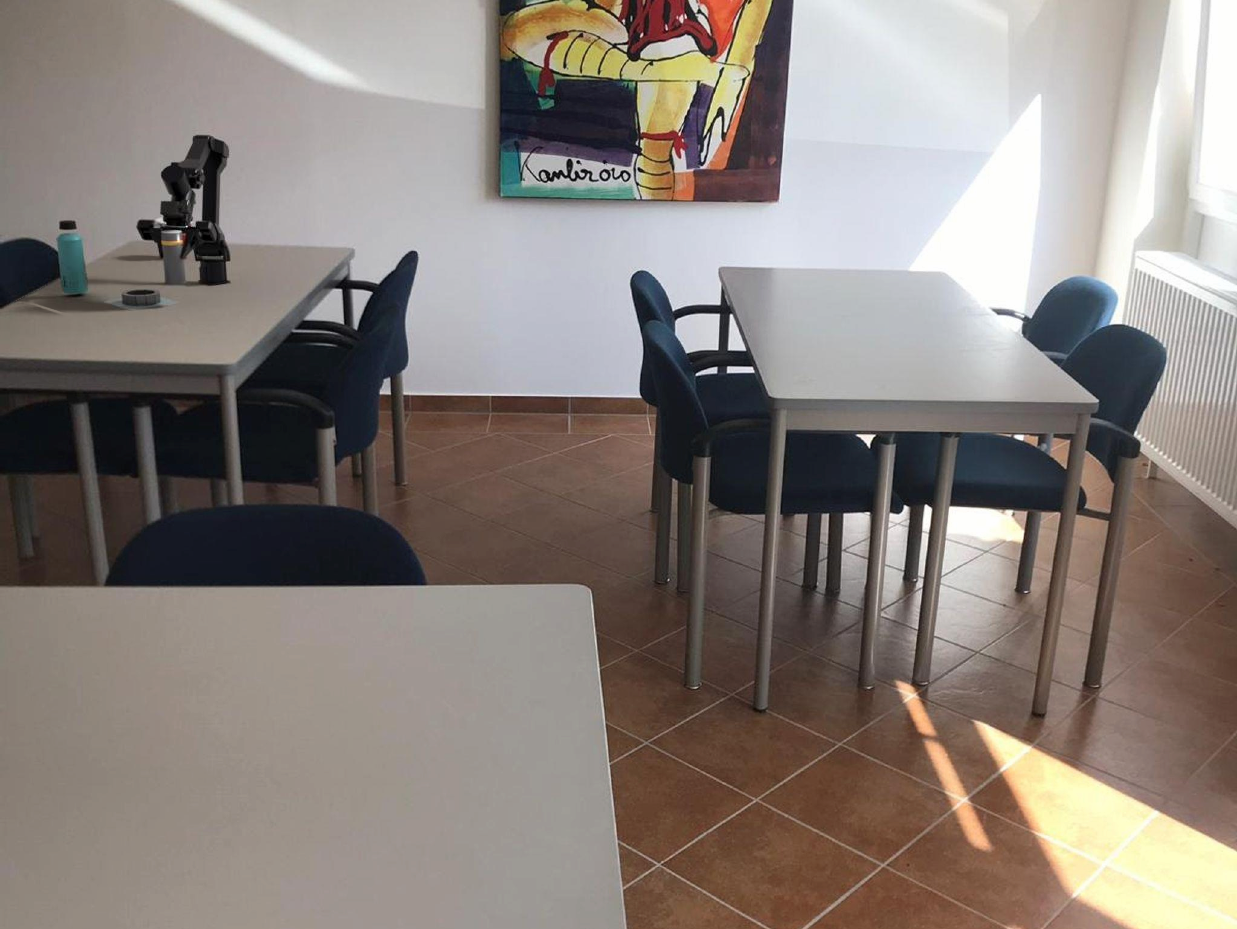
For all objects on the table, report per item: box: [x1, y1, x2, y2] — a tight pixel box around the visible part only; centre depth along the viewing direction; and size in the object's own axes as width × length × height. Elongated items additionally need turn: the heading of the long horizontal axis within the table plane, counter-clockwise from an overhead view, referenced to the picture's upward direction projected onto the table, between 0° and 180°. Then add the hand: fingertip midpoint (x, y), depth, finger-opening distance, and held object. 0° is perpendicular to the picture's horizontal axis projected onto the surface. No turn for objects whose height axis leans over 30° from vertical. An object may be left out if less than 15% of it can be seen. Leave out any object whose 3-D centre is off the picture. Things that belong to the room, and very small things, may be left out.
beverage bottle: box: [56, 219, 89, 295], centre depth 336 cm, size 6×7×20 cm
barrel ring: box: [121, 288, 161, 306], centre depth 333 cm, size 9×9×2 cm
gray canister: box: [161, 230, 187, 286], centre depth 327 cm, size 5×5×13 cm
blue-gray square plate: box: [102, 296, 181, 311], centre depth 333 cm, size 14×14×1 cm
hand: (171, 258), depth 326 cm, fingers closed on gray canister, 5 cm apart
